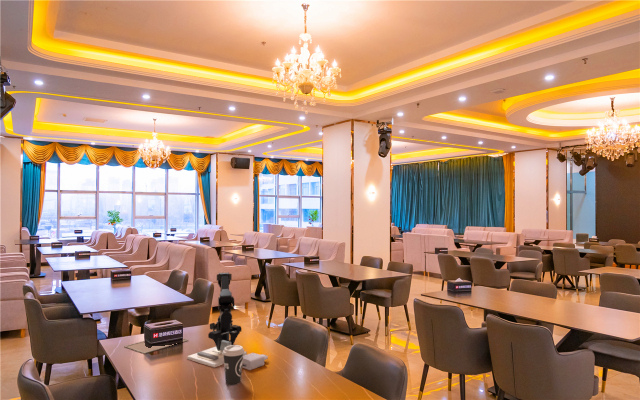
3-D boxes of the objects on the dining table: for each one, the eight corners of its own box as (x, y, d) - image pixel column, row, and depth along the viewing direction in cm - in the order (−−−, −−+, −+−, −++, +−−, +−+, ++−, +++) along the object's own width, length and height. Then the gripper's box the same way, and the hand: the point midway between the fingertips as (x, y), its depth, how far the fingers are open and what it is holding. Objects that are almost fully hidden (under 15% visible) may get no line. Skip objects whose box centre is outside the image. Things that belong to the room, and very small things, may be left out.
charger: (273, 362, 215) (250, 371, 203) (260, 358, 221) (238, 366, 209) (273, 352, 215) (250, 360, 203) (260, 349, 221) (238, 356, 209)
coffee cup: (234, 376, 197) (235, 343, 197) (248, 381, 190) (248, 347, 191) (217, 382, 189) (218, 348, 189) (231, 388, 183) (231, 352, 183)
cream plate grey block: (224, 347, 232) (224, 338, 232) (237, 350, 226) (237, 341, 227) (212, 351, 226) (212, 341, 226) (226, 355, 220) (226, 345, 220)
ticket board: (220, 347, 236) (220, 342, 236) (246, 354, 225) (246, 348, 225) (187, 359, 218) (187, 353, 218) (214, 367, 207) (214, 361, 207)
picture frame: (144, 355, 225) (188, 341, 248) (144, 353, 225) (188, 339, 248) (124, 348, 236) (168, 336, 259) (124, 346, 236) (168, 334, 259)
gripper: (227, 312, 239) (227, 341, 238) (201, 319, 223) (200, 350, 223) (242, 315, 232) (242, 344, 232) (216, 323, 217) (215, 354, 217)
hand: (225, 348), depth 226 cm, fingers open, 9 cm apart
